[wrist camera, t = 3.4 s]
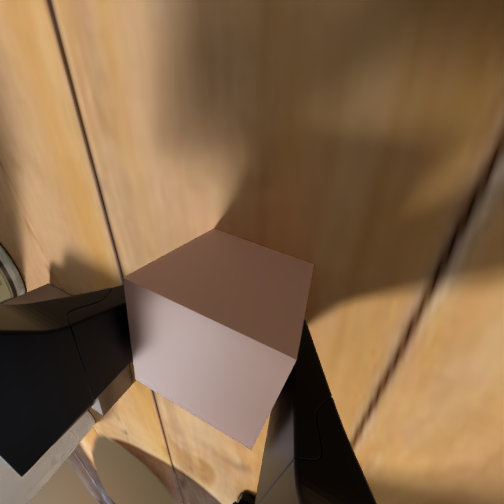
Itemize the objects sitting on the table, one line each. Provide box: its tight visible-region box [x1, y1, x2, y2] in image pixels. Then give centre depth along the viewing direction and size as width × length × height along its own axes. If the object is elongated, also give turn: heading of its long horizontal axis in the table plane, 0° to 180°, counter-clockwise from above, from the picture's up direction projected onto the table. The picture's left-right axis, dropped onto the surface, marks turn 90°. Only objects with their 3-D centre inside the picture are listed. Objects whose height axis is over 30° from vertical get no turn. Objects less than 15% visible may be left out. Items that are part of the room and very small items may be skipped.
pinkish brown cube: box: [123, 229, 314, 450], centre depth 8 cm, size 5×5×5 cm
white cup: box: [0, 411, 95, 504], centre depth 28 cm, size 8×8×10 cm
